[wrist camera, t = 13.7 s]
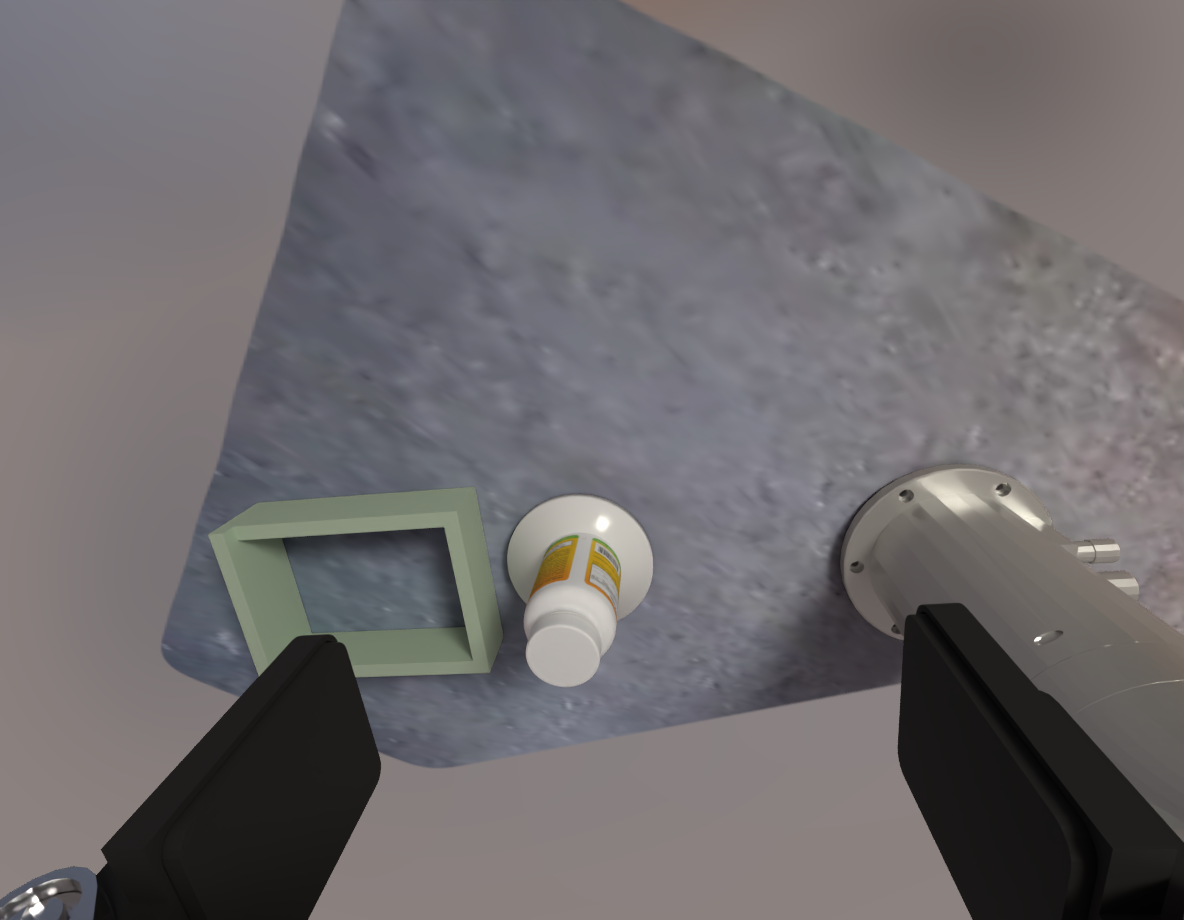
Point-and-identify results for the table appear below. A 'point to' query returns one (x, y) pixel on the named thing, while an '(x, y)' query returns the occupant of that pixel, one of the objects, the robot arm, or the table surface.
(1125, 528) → the table surface
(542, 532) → the saucer
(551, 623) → the supplement bottle
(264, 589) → the frame
